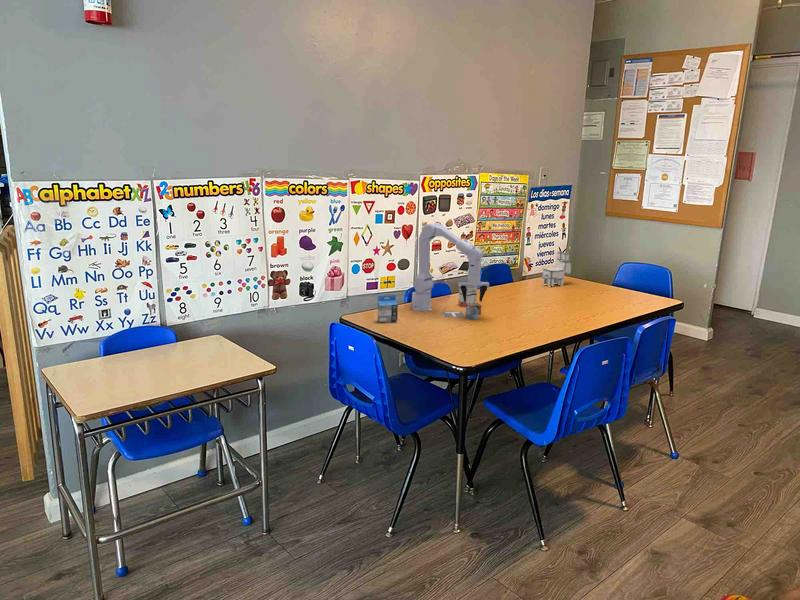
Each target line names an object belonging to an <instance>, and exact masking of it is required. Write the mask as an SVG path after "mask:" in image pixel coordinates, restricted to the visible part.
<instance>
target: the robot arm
mask: <svg viewBox="0 0 800 600" xmlns="http://www.w3.org/2000/svg"><path fill="white" fill-rule="evenodd" d="M436 237H443V238H444V239H446V240H447V241H449V242H450V243H452V244H454V245H455V248H456V250H457V251H459V252H460V253H462V254H464V255H465V256H466V258H467V260H468V268H467V269H468V273H467V281H459V282H457V284H458V285H457V287H460V288H461V291H462V294H463V298H464V302H466V293H467V289H466V287H477V288H479V299H478V300H479V303H480V302H481V303H482V302H483V298H484V295H485V293H486V292H487V291H488V288H489V287H490V283H489V282H488V281H481V270H482V269H481V268H482V259H483V257H484V251H483V249H482V248H481V247H476V245H473V244H472V243H470V242H469V241H468V239H467V238H460V237H458V236H457V235H456V234H454V233H453V232H452V231H450V230H449V229H448V228H447V227H446V225H444V224H442V223H441V222H434V223H433V222H432V223H427V224H425V225H424V226H423V227H422V228H421V233H420V234H419V237H418V274H417V276H415V281H414V284H413V286H414V287H413V288H414V289H415V291H412V293H411V294H412V295H411V309H412V311H414V312H418V311H419V312H420V311H421V312H422V311H423V312H424V311H425V312H427V311H431V312H432V311H433V309H432V307H431V299H432V289H433V288H434V286H435V283H434V279H433V275H432V273H431V272H430V271H431V263H430V261H431V256H430V255H431V244H430V243H431V241H432V240H434V239H435V238H436Z"/></svg>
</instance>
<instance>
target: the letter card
mask: <svg viewBox="0 0 800 600" xmlns="http://www.w3.org/2000/svg"><path fill="white" fill-rule="evenodd" d="M441 313H442V314H443V316H444V317H445V318H466V317H465V316H466V315H465V314H464V313H463V311H441Z"/></svg>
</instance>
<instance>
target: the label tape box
mask: <svg viewBox="0 0 800 600" xmlns="http://www.w3.org/2000/svg"><path fill="white" fill-rule="evenodd" d="M396 297H397V295H396V294H386V295H383V294H382V295H377V322H378V321H379V322H385V323H398V314H399V313H398V312H399V311H398V310H399V308H398V306H399V305H398V302H397V300H396V299H397V298H396ZM379 322H378V323H379Z"/></svg>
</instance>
